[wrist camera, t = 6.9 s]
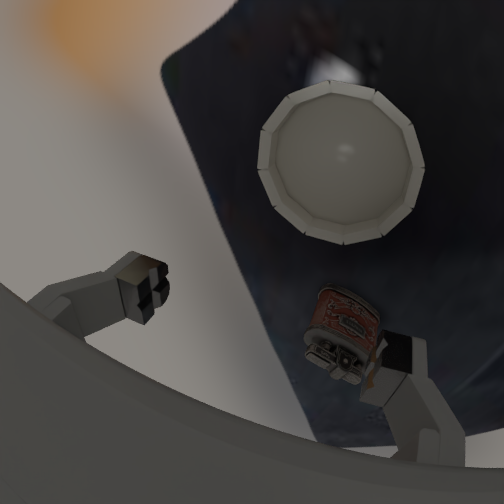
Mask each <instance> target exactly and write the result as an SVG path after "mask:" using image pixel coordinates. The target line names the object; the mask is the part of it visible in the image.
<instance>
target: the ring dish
mask: <svg viewBox="0 0 504 504" xmlns="http://www.w3.org/2000/svg"><path fill="white" fill-rule="evenodd" d="M262 128H263V130H261V134H260V145H259V155H258V165H257V169H260V170H258V173H259V176H260V178H261V180H262V183H263V185H264V187H265V190H266V192H267V194H268V197H269V199H270V202H271V204H272V206H275V205H277V206H276V207H275V208H274V209H275V210H276V211H278V212H279V213H280V214H281V215H282V216H283V217H285V218H286V219H287V220H288V221H289V222H290V223H292V224H293V225H294V226H295V227H296V228H297V229H298V230H300V231H301V232H302V233H304V232H305V231H306V234H305V235H308V236H312V237H315V238H319V239H323V240H326V241H330V242H334V243H337V244H341V245H342V243H343V241H344V244H345V245H347V244H351V243H356V242H361V241H366V240H370V239H375V238H380V237H382V235H383V236H384V235H386V234H387V233H388V232H389V231H390V230H391V229H392V228H394V227H395V226H396V225H397V224H398V223H399V222H400V221H401V220H402V219H404V218H405V217H406V216H407V215H408V214H409V213H410V212H411V211H412V208H414V206H415V203H416V199H417V196H418V193H419V189H420V186H421V182H422V179H423V175H424V171H425V169H424V167H425V165H424V161H423V157H422V153H421V150H420V146H419V143H418V139H417V136H416V133H415V129H414V126H413V124H412V123H411V121H410V120H409V119H408V118H407V117H406V116H405V115H404V114H403V113H402V112H401V111H400V110H398V109H397V108H396V107H395V106H394V105H393V104H392V103H391V102H390V101H389V100H388V99H387V98H385V97H384V96H383V95H382V94H381V93H380V92H379V91H377V92H375V89H372V88H368V87H363V86H359V85H354V84H349V83H345V82H339V81H334V80H331V81H330V80H327V81H324V82H321V83H318V84H315V85H313V86H310V87H307V88H304V89H302V90H299V91H296V92H294V93H291V94H289V95H288V96H286V97H285V98H284V99H283V101H282V102H281V103H280V104H279V106H278V107H277V108H276V110H275V111H274V112H273V114H272V115H271V116H270V118H269V119H268V120H267V122H266V123H265V124H264V126H263V127H262Z"/></svg>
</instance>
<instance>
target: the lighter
mask: <svg viewBox="0 0 504 504" xmlns="http://www.w3.org/2000/svg"><path fill="white" fill-rule="evenodd" d="M379 323H380V315H379V313H378V312H377V311H376V310H375V309H374V308H373V307H372V306H371V305H370V304H369V303H367V302H366V301H365V300H363V299H362V298H361V297H359V296H357V295H356V294H354V293H352V292H350V291H349V290H347V289H345V288H342V287H340V286H338V285H335V284H332V283H329V284H325V285H324V286H322V287H321V289H320V291H319V294H318V302H317V305H316V308H315V311H314V314H313V317H312V320H311V323H310V325H309V327H308V328H307V329H306V331H305V334H304V341H305V343H306V344H307V345H308V347H307V350H306V353H305V357H306V358H307V359H308V360H310V361H312V362H313V363H315V364H317V365H319V366H320V367H322V368H324V369H327V370H328V372H329V375H330V376H331V377H332V378H333V379H335V380H338V379H340V378H343V379H344V380H346V381H348V382H350V383H352V384H358V383H359V382H360V381H361V378H362V374H364V371H365V366H366V362H367V359H368V357H369V354H370V352H371V350H372V348H373V347H374V346H376V337H377V327H378V326H379Z"/></svg>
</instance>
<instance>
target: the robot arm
mask: <svg viewBox="0 0 504 504" xmlns="http://www.w3.org/2000/svg"><path fill="white" fill-rule="evenodd" d="M167 274H168V265H167V264H166V263H164V262H162V261H159V260H156V259H153V258H151V257H148V256H145V255H142V254H139V253H137V252H134V251H131V252H128V253H127V254H126V255H125V256H123V257H122V258H121V259H120V260H118V261H117V262H116V263H115V264H113V265H112V266H111V267H110V268H108V269H107V270H106V271H105V272H101V271H100V272H96V273H93V274H88V275H85V276H81V277H77V278H74V279H70V280H66V281H63V282H59V283H55V284H51V285H48V286H46V287H45V288H44V289H43V290H42V291H40V292H39V293H38V294H37V295H35V296H34V297H33V298H32V299H30V300H29V301H28V302H27V303H26V302H25V301H23V300H22V299H21V298H20V297H18V296H17V295H16V294H14V293H13V292H12V291H10V290H9V289H8V288H7V287H5V286H4V285H3V284H2V283H0V504H504V468H474V467H465V432H464V430H463V429H462V427H461V425H460V424H459V422H458V420H457V419H456V417H455V415H454V414H453V412H452V411H451V409H450V407H449V406H448V404H447V403H446V401H445V399H444V398H443V396H442V395H441V393H440V392H439V390H438V388H437V387H436V385H435V384H434V382H433V381H432V379H428V368H427V347H426V341H425V339H420V338H416V337H412V336H411V337H410V336H407V335H403V334H399V333H395V332H391V331H387V330H384V329H382V331H381V332H380V334H379V336H378V338H377V345H376V346H374V347H373V348H372V350H371V352H370V354H369V357H368V359H367V362H366V366H365V371H364V375H365V377H366V379H365V381H364V383H363V384H362V389H361V395H360V401H361V402H365V403H369V404H372V405H376V406H380V407H383V410H384V413H385V415H386V418H387V421H388V423H389V426H390V429H391V431H392V434H393V437H394V439H395V442H396V445H397V447H398V450H399V451H398V452H396V453H395V454H394V455H393V456H392V457H390V458H386V457H380V456H375V455H370V454H365V453H360V452H355V451H351V450H346V449H342V448H338V447H334V446H330V445H326V444H323V443H319V442H315V441H311V440H308V439H304V438H301V437H297V436H294V435H291V434H287V433H284V432H281V431H278V430H275V429H272V428H269V427H266V426H263V425H260V424H257V423H254V422H252V421H249V420H246V419H243V418H241V417H238V416H235V415H232V414H230V413H227V412H225V411H222V410H220V409H217V408H215V407H212V406H210V405H208V404H205V403H203V402H200V401H198V400H196V399H193V398H191V397H189V396H187V395H185V394H182V393H180V392H178V391H176V390H174V389H171V388H169V387H167V386H165V385H163V384H161V383H159V382H157V381H155V380H153V379H151V378H149V377H147V376H145V375H143V374H141V373H139V372H137V371H135V370H133V369H131V368H130V367H128V366H126V365H124V364H122V363H120V362H118V361H117V360H115V359H113V358H111V357H110V356H108V355H106V354H104V353H103V352H101V351H99V350H97V349H96V348H94V347H92V346H91V345H89V344H87V343H86V341H85V338H84V337H85V336H88V335H90V334H92V333H94V332H97V331H99V330H101V329H103V328H105V327H108V326H110V325H112V324H114V323H116V322H119V321H121V320H123V319H125V317H126V318H129V319H131V320H133V321H135V322H138V323H140V324H143V325H145V324H146V323H147V322H148V321H149V319H150V318H151V317H152V316H153V315H154V309H155V308H158V307H161V306H162V305H163V304H164V303H165V301H166V300H167V297H168V295H169V290H170V284H169V281H168V280H167V278H166V277H165V276H166V275H167Z"/></svg>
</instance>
